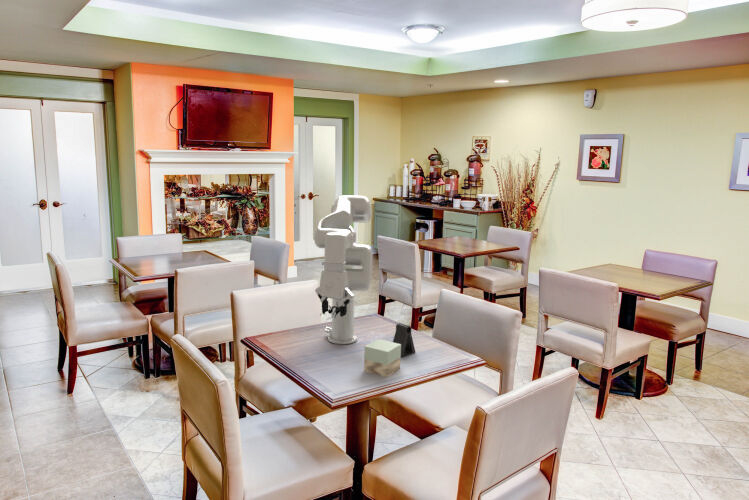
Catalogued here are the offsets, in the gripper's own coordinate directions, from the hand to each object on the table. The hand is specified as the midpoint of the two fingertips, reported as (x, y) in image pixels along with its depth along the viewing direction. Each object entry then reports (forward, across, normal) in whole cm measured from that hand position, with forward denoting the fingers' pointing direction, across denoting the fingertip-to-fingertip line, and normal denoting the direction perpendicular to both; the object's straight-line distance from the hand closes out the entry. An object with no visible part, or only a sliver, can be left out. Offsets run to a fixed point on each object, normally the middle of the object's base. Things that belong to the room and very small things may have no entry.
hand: (334, 313), depth 199 cm
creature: (+1, -1, -1) cm, 2 cm away
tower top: (+17, +15, +10) cm, 25 cm away
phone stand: (+23, +14, +30) cm, 40 cm away
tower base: (+22, +15, +10) cm, 29 cm away
